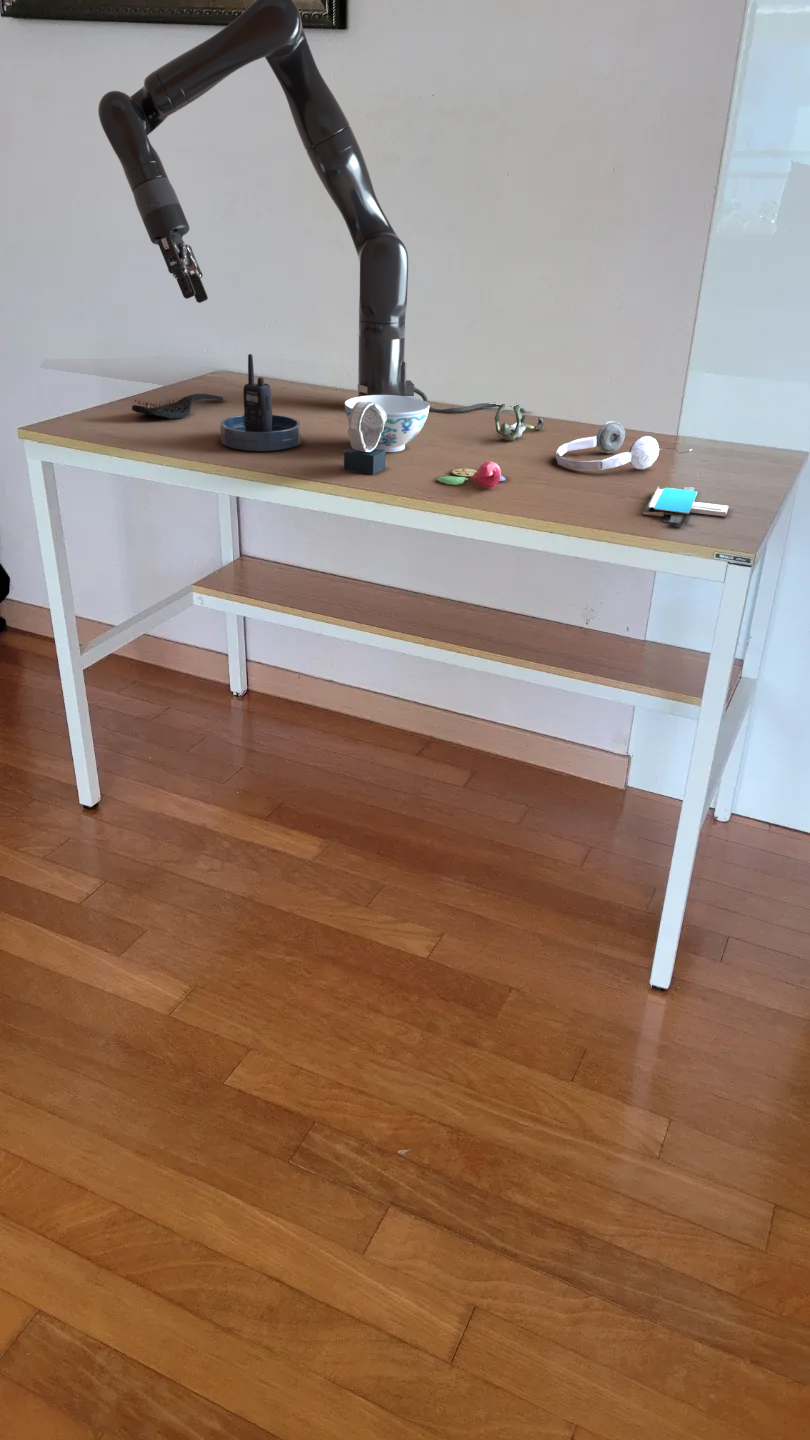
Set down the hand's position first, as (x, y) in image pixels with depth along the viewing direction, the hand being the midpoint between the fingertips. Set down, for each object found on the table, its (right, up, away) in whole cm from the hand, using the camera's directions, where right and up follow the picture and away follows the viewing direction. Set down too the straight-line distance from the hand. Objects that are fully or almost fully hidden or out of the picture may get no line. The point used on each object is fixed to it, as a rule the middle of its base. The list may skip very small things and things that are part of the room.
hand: (197, 299), depth 199 cm
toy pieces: (+50, -39, -24) cm, 68 cm away
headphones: (+75, -34, -13) cm, 83 cm away
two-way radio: (+13, -28, -7) cm, 32 cm away
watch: (+32, -37, -20) cm, 53 cm away
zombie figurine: (+60, -25, +3) cm, 65 cm away
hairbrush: (-6, -17, +14) cm, 23 cm away
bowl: (+13, -28, -7) cm, 32 cm away
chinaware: (+35, -30, -7) cm, 47 cm away
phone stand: (+82, -46, -35) cm, 100 cm away
